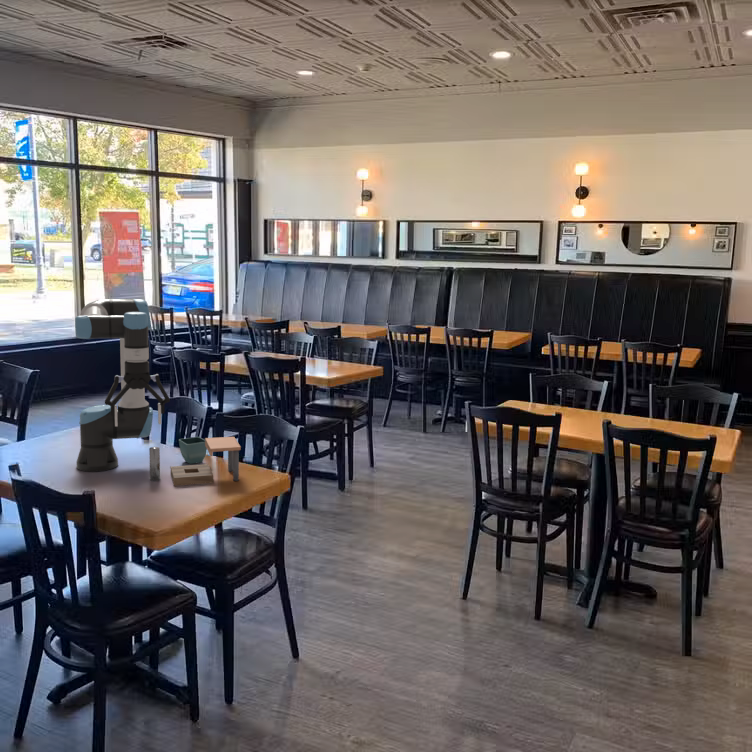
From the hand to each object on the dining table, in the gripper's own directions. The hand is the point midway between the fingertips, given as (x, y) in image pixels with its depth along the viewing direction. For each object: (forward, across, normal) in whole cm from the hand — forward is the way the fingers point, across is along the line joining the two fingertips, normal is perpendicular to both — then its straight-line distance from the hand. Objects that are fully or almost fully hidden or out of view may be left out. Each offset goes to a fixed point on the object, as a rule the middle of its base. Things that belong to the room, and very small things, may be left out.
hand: (138, 424), depth 249 cm
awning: (+28, +31, +25) cm, 49 cm away
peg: (+28, +7, +27) cm, 40 cm away
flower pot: (+28, +23, +46) cm, 59 cm away
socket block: (+28, +20, +25) cm, 43 cm away
